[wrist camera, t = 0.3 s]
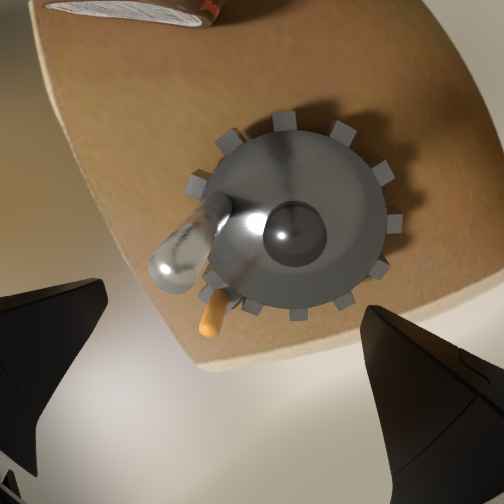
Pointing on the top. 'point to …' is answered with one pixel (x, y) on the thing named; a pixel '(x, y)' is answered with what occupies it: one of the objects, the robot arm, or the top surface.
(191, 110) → the top surface
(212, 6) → the tin
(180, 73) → the top surface
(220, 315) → the rounded peg on base
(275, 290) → the sprocket
